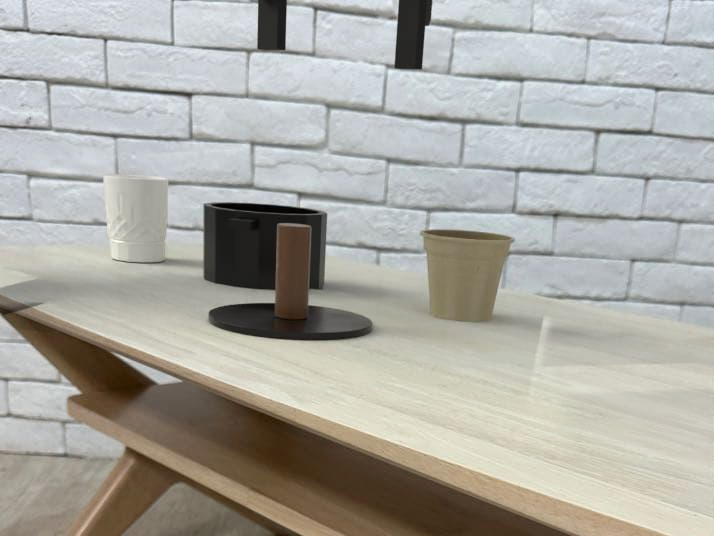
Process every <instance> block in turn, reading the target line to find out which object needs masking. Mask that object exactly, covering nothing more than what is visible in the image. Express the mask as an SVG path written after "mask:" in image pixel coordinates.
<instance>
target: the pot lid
mask: <svg viewBox="0 0 714 536" xmlns="http://www.w3.org/2000/svg"><path fill="white" fill-rule="evenodd" d="M310 251H311V226H309V225H303V224H292V223H279V224H277V247H276V284H275V290H274V296H275V297H274V302H247V303H246V302H245V303H234V304H233V303H232V304H226V305H222V306H217V307H215V308H212V309H210V310H209V311H208V312H207V313H208V315H207V316H208V322H209V323H210V324H211V325H213V326H214V327H217V328H220V329H222V330H226V331H229V332H233V333H237V334H243V335H248V336H255V337H262V338H270V339H271V338H273V339H283V340H286V339H287V340H301V341H302V340H304V341H305V340H306V341H308V340H309V341H325V340H327V341H328V340H342V339H351V338H357V337H362V336H365V335H368V334H369V333H370V332H372V330H373V321H372V319H370V318H369V317H366V316H365V315H363V314H359V313H357V312H353V311H349V310H344V309H339V308H333V307H327V306H320V305H313V304H309V299H310V298H309V297H310V289H309V276H310Z"/></svg>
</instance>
